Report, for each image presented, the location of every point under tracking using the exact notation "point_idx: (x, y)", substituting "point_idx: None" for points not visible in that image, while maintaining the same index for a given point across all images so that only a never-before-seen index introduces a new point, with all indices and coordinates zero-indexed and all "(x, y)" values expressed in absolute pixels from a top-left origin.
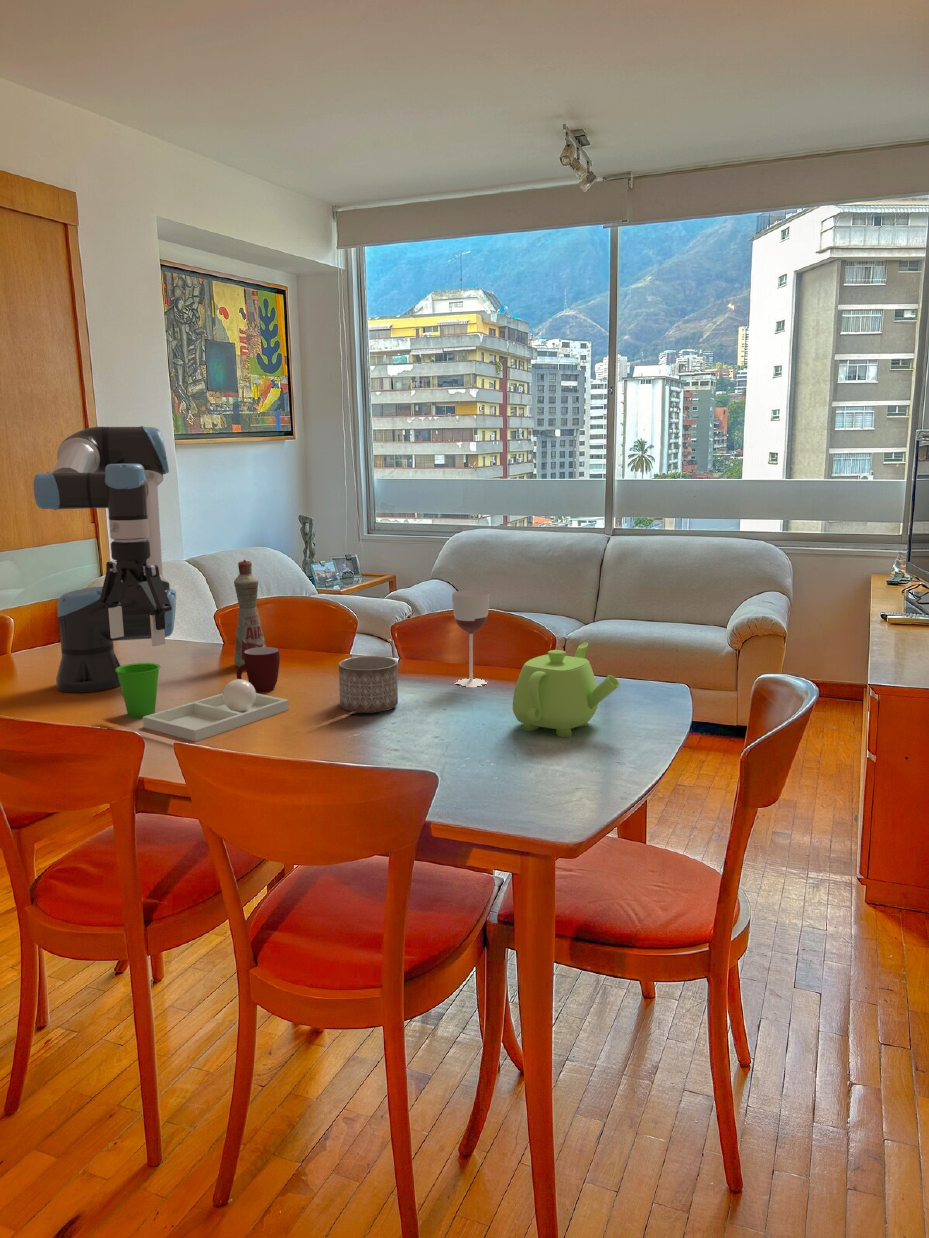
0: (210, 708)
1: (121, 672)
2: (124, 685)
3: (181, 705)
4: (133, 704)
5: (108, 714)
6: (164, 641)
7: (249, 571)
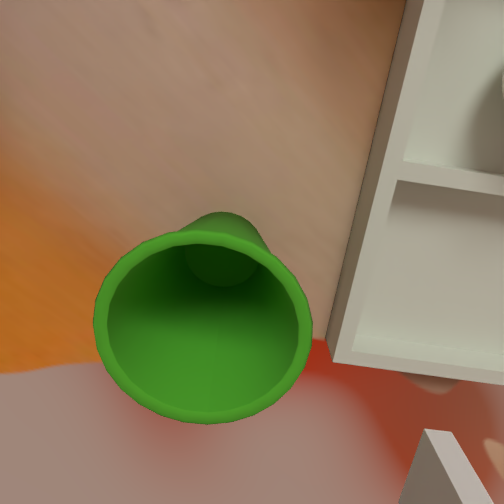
0: (490, 193)
1: (203, 423)
2: (207, 370)
3: (369, 218)
4: (236, 316)
5: (99, 265)
6: (458, 452)
7: None
